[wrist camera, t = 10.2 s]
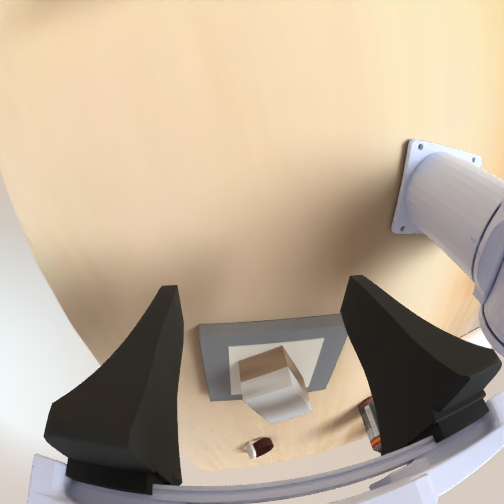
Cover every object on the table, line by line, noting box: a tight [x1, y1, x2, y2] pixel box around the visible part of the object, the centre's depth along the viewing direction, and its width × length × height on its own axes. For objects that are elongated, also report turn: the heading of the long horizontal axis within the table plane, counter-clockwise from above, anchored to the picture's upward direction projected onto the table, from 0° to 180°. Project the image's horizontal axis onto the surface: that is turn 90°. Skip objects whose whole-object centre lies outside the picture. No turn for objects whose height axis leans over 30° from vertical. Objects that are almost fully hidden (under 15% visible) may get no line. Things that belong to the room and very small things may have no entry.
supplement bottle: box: [359, 397, 382, 456], centre depth 35 cm, size 6×6×11 cm
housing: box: [238, 345, 313, 424], centre depth 26 cm, size 7×4×4 cm, turn 24°
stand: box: [199, 314, 348, 401], centre depth 28 cm, size 14×12×2 cm
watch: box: [246, 438, 274, 459], centre depth 42 cm, size 8×5×4 cm, turn 165°
